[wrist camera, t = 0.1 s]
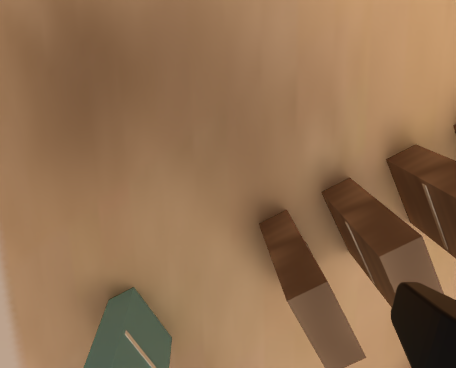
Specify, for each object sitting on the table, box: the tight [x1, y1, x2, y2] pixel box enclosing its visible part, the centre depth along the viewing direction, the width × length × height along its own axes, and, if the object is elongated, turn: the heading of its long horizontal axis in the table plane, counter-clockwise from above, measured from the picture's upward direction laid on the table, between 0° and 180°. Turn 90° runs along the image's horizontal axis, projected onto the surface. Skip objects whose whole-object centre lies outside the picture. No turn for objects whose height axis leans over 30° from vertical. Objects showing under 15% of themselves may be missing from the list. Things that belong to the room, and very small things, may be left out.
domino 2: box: [259, 210, 366, 368], centre depth 21 cm, size 2×5×8 cm, turn 27°
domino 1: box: [84, 287, 172, 368], centre depth 22 cm, size 2×5×8 cm, turn 27°
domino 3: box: [322, 178, 444, 307], centre depth 20 cm, size 2×5×8 cm, turn 27°
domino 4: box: [386, 145, 456, 258], centre depth 20 cm, size 2×5×8 cm, turn 27°
